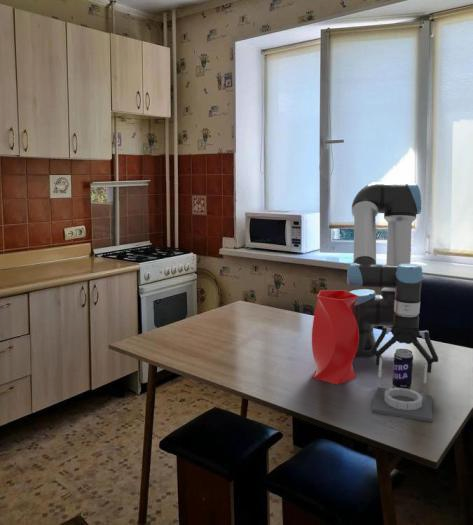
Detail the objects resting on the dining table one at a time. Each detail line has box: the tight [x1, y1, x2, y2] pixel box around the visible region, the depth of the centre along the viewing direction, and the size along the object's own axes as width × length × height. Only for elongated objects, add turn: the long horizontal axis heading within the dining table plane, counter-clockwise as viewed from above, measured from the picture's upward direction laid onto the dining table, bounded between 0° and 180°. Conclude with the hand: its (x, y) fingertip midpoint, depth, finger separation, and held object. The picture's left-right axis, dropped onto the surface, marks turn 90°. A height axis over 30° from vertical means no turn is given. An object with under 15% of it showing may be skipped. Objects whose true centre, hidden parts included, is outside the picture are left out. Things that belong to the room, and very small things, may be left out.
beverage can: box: [392, 348, 414, 389], centre depth 160 cm, size 6×6×12 cm
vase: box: [311, 289, 359, 385], centre depth 168 cm, size 15×14×28 cm
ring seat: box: [371, 386, 433, 423], centre depth 149 cm, size 16×16×3 cm
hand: (402, 378), depth 161 cm, fingers open, 13 cm apart
